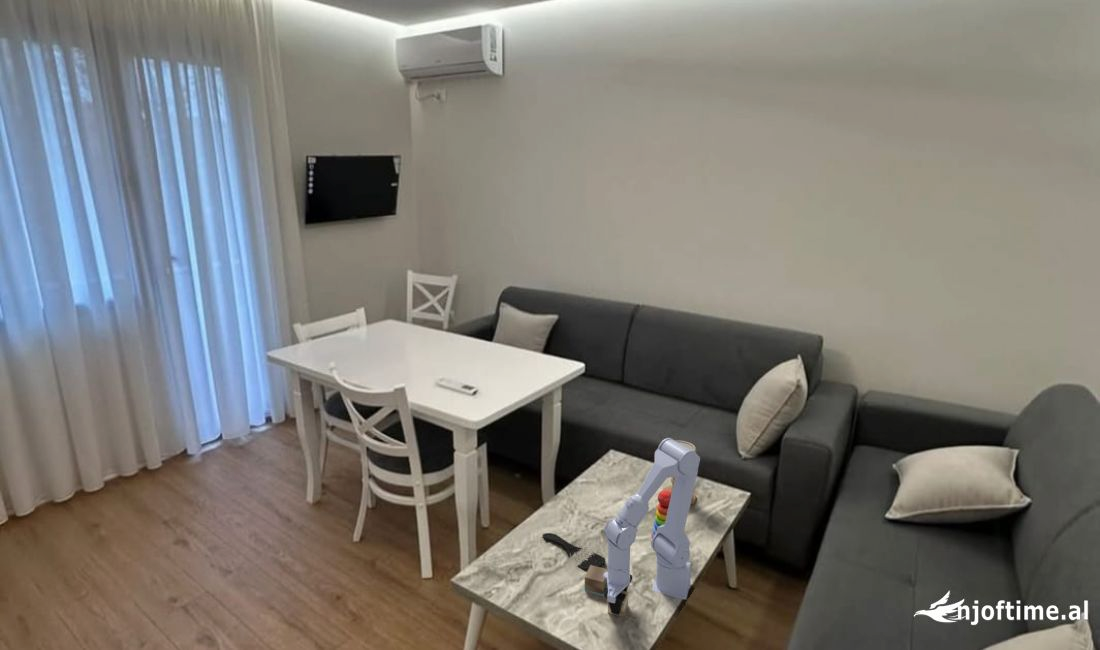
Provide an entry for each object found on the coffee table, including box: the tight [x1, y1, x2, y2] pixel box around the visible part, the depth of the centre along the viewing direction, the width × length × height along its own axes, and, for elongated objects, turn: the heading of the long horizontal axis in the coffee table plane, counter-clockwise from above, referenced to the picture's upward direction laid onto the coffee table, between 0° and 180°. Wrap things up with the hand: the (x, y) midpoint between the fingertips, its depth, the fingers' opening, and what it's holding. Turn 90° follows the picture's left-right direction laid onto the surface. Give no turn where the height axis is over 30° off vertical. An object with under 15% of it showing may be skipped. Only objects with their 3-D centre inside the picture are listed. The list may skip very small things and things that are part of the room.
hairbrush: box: [542, 532, 606, 572], centre depth 174 cm, size 8×4×25 cm
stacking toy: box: [650, 489, 672, 545], centre depth 175 cm, size 8×8×19 cm
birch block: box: [607, 591, 629, 618], centre depth 150 cm, size 4×4×4 cm
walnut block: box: [584, 565, 608, 594], centre depth 159 cm, size 5×5×4 cm
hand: (618, 606), depth 151 cm, fingers closed on birch block, 4 cm apart
